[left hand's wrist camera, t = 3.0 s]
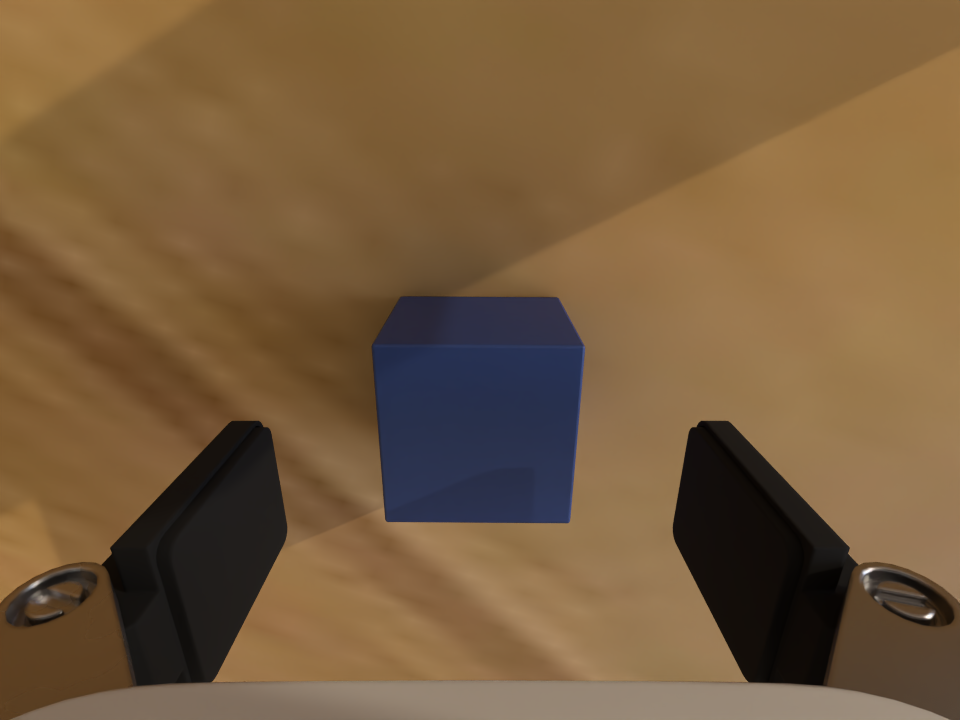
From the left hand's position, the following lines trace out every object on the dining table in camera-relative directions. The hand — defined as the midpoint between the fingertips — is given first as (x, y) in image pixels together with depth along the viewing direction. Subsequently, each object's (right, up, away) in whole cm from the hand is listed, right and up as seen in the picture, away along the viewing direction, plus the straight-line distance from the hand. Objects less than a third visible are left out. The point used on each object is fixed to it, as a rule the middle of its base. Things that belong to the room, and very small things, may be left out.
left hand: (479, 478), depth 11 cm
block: (0, +2, +5) cm, 6 cm away
